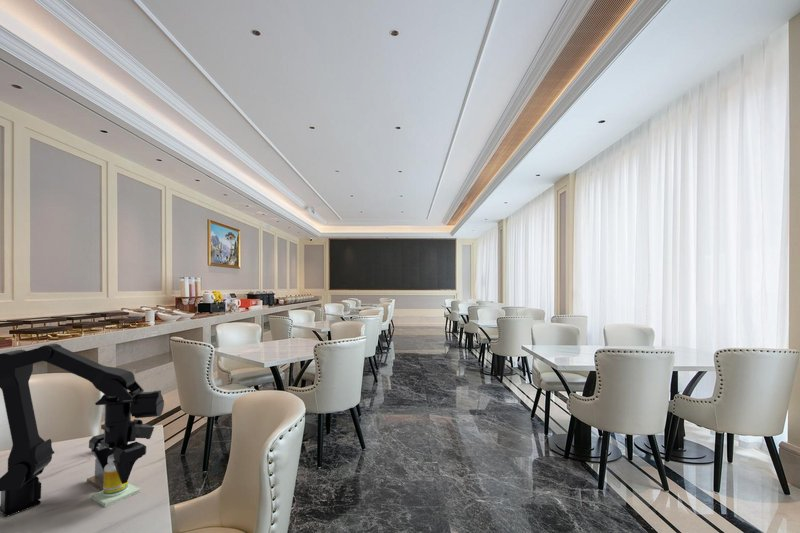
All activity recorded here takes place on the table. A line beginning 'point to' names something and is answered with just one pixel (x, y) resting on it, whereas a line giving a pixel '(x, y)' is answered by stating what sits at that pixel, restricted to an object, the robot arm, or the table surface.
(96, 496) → the sage pad
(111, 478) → the supplement bottle
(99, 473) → the mounted unit
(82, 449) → the table surface
